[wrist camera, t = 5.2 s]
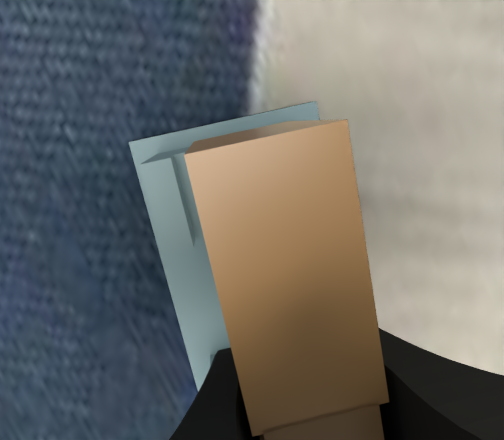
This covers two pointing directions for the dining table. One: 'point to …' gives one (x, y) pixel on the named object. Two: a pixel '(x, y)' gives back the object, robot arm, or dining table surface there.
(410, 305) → the dining table surface
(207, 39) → the dining table surface
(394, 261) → the dining table surface
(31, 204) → the dining table surface
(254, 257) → the brown offset double block
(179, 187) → the stand
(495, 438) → the robot arm
